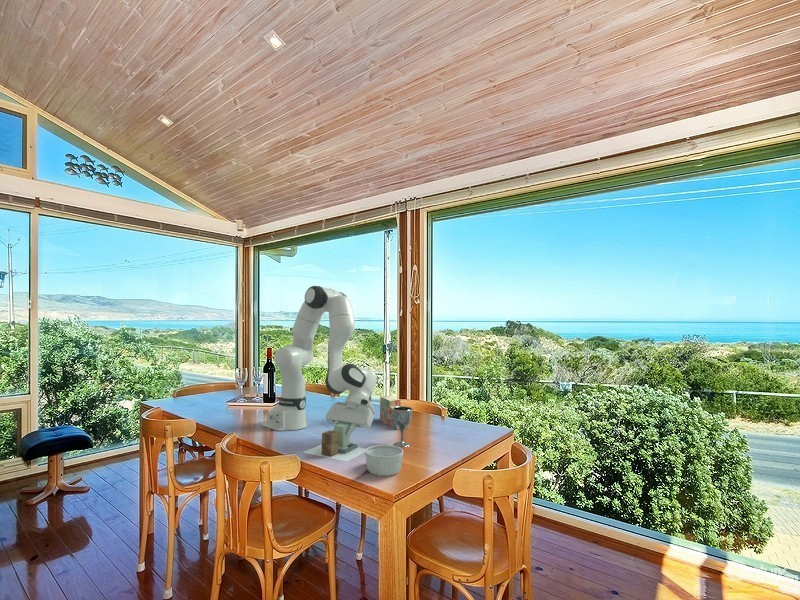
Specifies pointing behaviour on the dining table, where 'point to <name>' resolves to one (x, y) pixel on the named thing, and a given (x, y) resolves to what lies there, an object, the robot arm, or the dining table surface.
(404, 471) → the dining table surface
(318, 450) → the board
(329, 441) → the walnut block
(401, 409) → the wine glass
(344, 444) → the sage block
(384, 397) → the colourful cardboard box
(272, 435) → the dining table surface
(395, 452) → the ramekin
